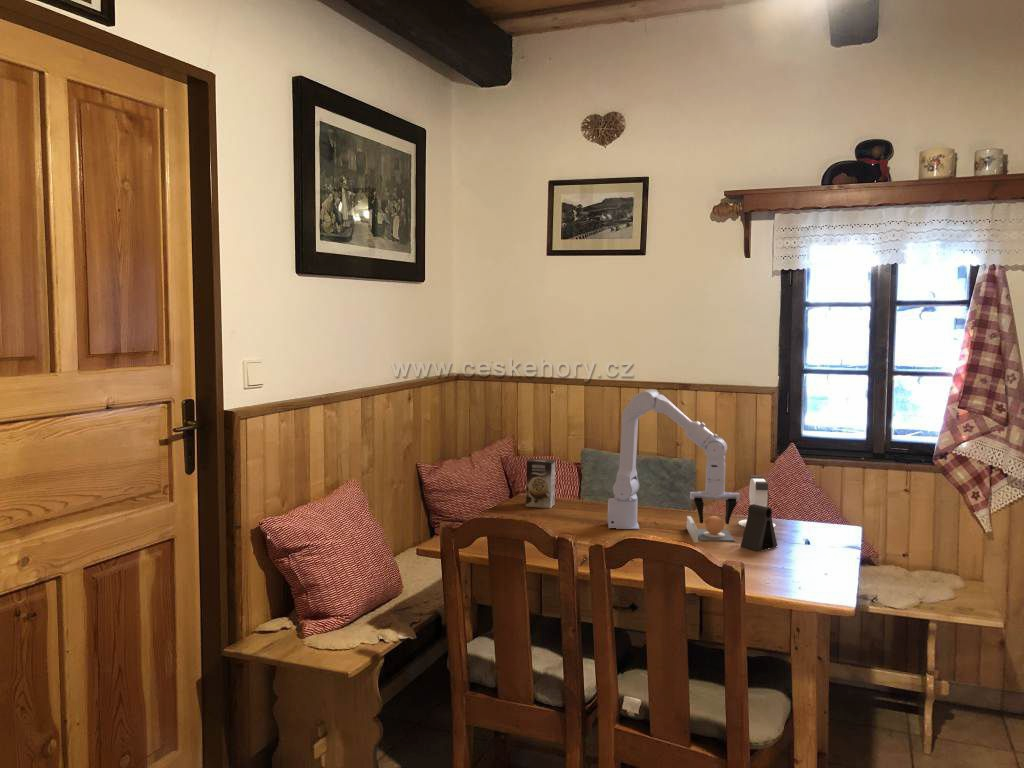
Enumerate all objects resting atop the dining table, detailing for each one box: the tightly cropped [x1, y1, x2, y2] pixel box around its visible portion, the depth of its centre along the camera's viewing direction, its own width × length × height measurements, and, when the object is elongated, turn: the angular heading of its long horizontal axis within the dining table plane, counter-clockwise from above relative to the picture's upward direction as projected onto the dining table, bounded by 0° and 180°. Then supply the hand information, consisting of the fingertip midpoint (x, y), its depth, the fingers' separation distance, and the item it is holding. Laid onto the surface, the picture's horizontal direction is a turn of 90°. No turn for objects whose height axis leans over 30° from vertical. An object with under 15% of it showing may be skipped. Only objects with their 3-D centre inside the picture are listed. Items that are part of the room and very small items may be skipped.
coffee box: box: [525, 457, 556, 509], centre depth 290 cm, size 9×6×16 cm
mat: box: [698, 528, 735, 543], centre depth 252 cm, size 10×12×1 cm
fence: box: [686, 515, 699, 544], centre depth 253 cm, size 1×16×4 cm, turn 176°
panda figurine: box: [738, 475, 777, 528], centre depth 265 cm, size 12×11×15 cm
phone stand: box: [740, 504, 778, 553], centre depth 240 cm, size 9×6×12 cm, turn 125°
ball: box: [704, 515, 725, 534], centre depth 252 cm, size 6×6×6 cm
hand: (714, 523), depth 252 cm, fingers open, 7 cm apart
